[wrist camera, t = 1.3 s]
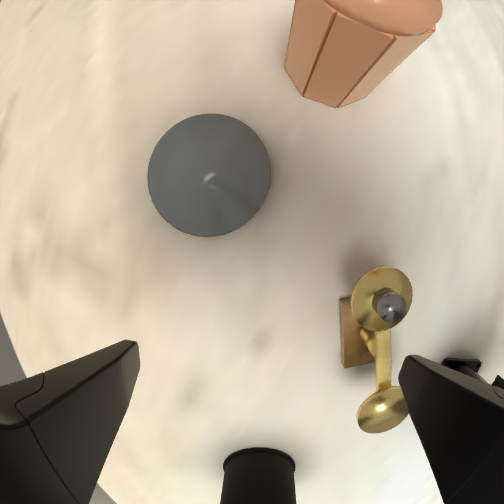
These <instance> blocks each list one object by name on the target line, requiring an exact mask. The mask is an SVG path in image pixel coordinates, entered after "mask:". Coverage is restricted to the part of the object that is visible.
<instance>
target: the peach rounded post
mask: <svg viewBox="0 0 504 504" xmlns="http://www.w3.org/2000/svg"><path fill="white" fill-rule="evenodd" d="M442 9H443V8H442V2H441V0H295V6H294V12H293V18H292V24H291V30H290V37H289V43H288V49H287V55H286V61H285V70H286V72H287V73H288V75H289V76H290V78H291V79H292V81H293V83H294V84H295V86H296V87H297V89H298V90H299V92H300V94H301V95H303V94H304V97H306V98H309V99H312V100H315V101H318V102H320V103H323V104H326V105H329V106H331V107H334V108H336V107H338V108H339V107H342V106H344V105H347V104H349V103H352V102H355V101H357V100H360V99H362V98H365V97H366V96H367V95H368V94H369V93H370V92H371V91H372V90H373V89H374V88H375V87H376V86H377V85H378V84H379V83H380V82H381V81H382V80H383V79H384V78H386V77H387V76H388V75H389V74H390V73H391V72H392V71H393V70H394V69H395V68H396V67H397V66H398V65H399V64H400V63H401V62H403V61H404V60H405V59H406V58H407V57H408V56H409V55H410V54H411V53H412V52H413V51H414V50H415V49H417V48H418V47H419V46H420V45H421V44H422V43H423V42H424V41H425V40H426V39H428V38H429V37H430V36H431V35H432V34H433V33H434V32H435V24H436V23H437V22H438V21H439V20H440V18H441V16H442Z"/></svg>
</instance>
